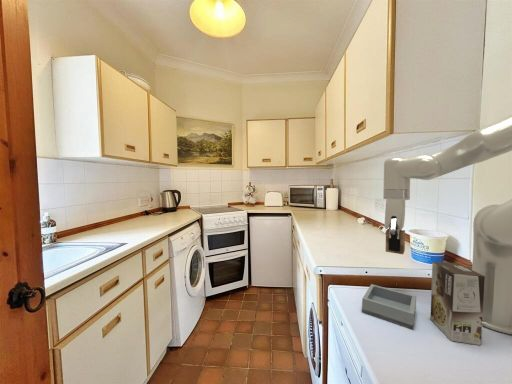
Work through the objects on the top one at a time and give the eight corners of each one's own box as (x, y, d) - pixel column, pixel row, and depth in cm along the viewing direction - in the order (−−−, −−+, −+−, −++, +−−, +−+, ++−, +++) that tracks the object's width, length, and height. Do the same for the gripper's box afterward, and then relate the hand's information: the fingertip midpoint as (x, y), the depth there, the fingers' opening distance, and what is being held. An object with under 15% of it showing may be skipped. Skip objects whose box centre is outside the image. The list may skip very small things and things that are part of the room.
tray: (415, 309, 66) (416, 295, 66) (413, 329, 56) (413, 314, 56) (370, 296, 73) (371, 284, 73) (361, 312, 64) (362, 298, 64)
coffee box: (482, 346, 51) (487, 276, 51) (450, 341, 52) (454, 273, 52) (456, 322, 60) (459, 262, 60) (428, 318, 61) (431, 260, 61)
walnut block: (404, 250, 76) (405, 229, 76) (403, 254, 72) (403, 232, 72) (387, 248, 79) (388, 228, 79) (385, 251, 75) (385, 230, 75)
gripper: (387, 194, 84) (386, 242, 85) (379, 195, 71) (378, 252, 71) (411, 194, 80) (410, 245, 80) (407, 196, 66) (406, 257, 67)
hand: (395, 248), depth 76 cm, fingers closed on walnut block, 5 cm apart
